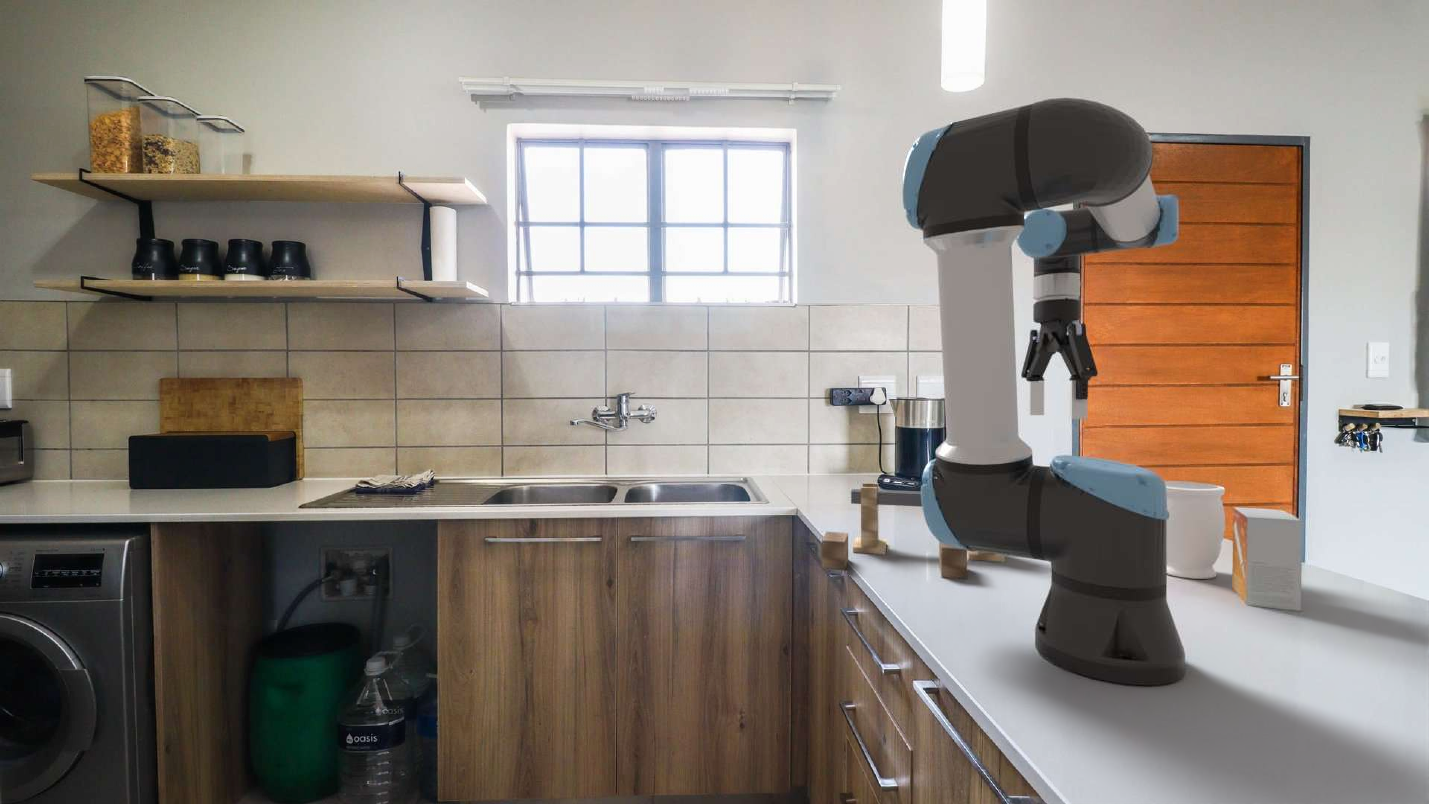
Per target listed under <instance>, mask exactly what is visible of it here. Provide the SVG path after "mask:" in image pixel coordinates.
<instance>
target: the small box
mask: <svg viewBox="0 0 1429 804" xmlns="http://www.w3.org/2000/svg"><path fill="white" fill-rule="evenodd" d="M1302 544H1303V521H1302V520H1301V519H1300V518H1298V517H1296V516H1295V515H1293V514H1291V513H1289V512H1287V511H1285V510H1283V509H1271V508H1258V507H1257V508H1255V507H1240V506H1239V507H1238V506H1236V507H1235V506H1234V507H1233V508H1232V568H1231V569H1232V572H1231V573H1232V577H1231V578H1232V579H1231V584H1232V585H1231V586H1232V587H1231V588H1232V590H1234V592H1235V593H1236V594H1237V595H1238V596H1239V597H1240V598H1241V600H1242V601H1243V602H1244V603H1245V605H1247V606H1251V607H1252V606H1253V607H1261V608H1271V609H1279V610H1286V611H1295V612H1296V611H1298V612H1300V611H1302V572H1303V571H1302V567H1303V565H1302V563H1303V561H1302V559H1303V558H1302V556H1303V555H1302V554H1303V552H1302V551H1303V550H1302V549H1303V548H1302V547H1303V546H1302Z"/></svg>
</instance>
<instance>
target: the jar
mask: <svg viewBox="0 0 1429 804" xmlns="http://www.w3.org/2000/svg"><path fill="white" fill-rule="evenodd" d="M1163 481H1164V483H1165V485H1166V494H1167V510H1168V511H1169V514H1170V515H1169V519H1167V575H1169V576H1174V577H1178V578H1185V579H1193V580H1194V579H1195V580H1208V579H1213V578H1215V577H1216V576H1217V572H1216V570H1215V568H1214V567H1213V566H1214V565H1215V563H1216V562H1217V561H1218V558H1220V557H1219V556H1220V554H1221V551H1222V543H1223V540H1224V536H1225V529H1226V514H1225V509H1224V504H1223V501H1222V499H1221V498H1222V496H1224V495H1225V493H1226V490H1225V487H1223V486H1221V485H1215V484H1210V483H1206V482H1205V483H1203V482H1196V481H1181V480H1163Z"/></svg>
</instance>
